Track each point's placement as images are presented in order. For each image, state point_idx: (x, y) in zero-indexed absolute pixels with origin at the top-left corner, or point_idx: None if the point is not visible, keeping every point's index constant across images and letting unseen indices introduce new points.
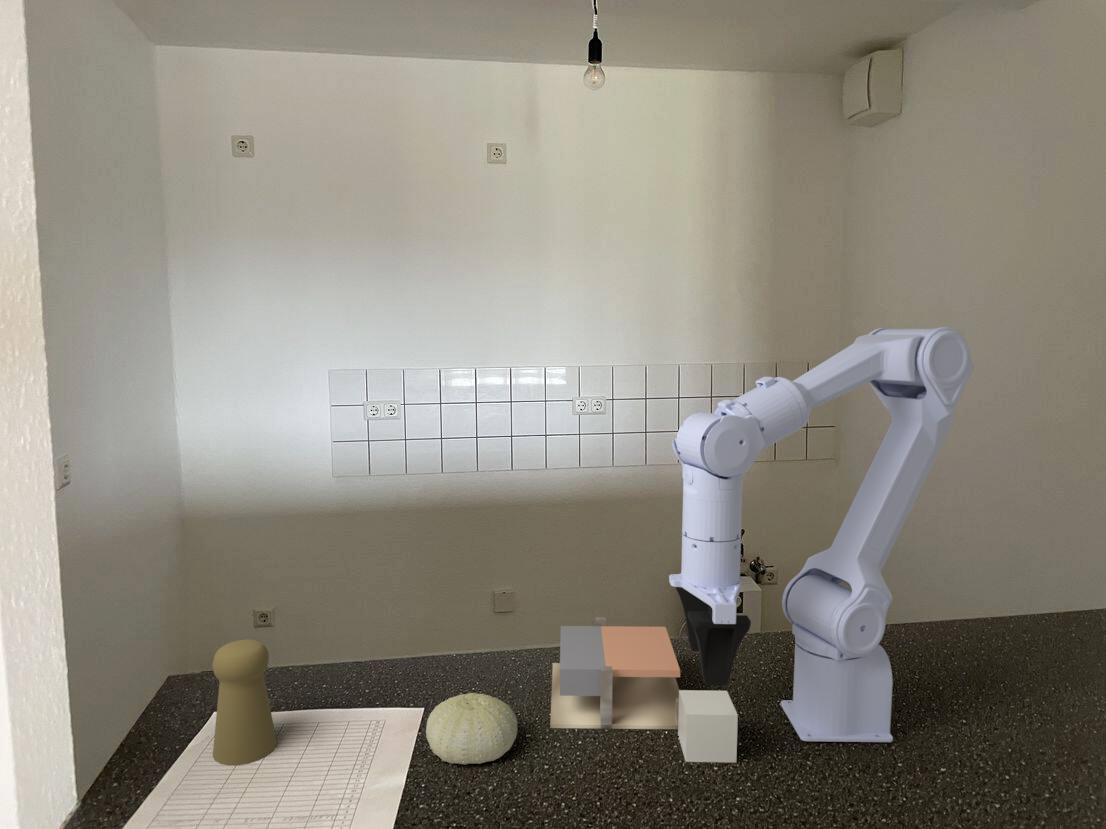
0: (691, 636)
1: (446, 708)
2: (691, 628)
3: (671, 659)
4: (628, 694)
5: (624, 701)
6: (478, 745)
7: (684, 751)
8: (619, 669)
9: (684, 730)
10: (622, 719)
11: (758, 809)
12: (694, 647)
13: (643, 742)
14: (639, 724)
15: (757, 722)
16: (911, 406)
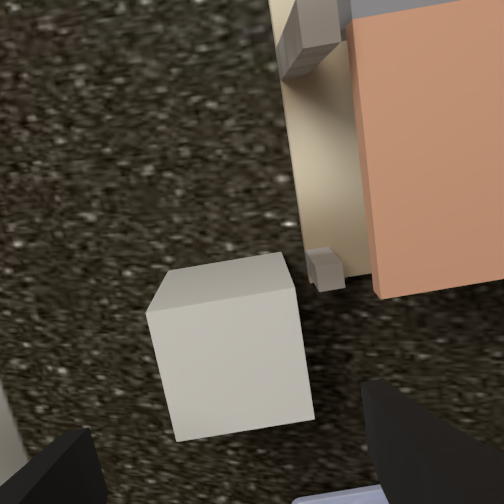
0: (380, 416)
1: None
2: (398, 440)
3: (465, 267)
4: None
5: None
6: None
7: (183, 272)
8: (359, 76)
9: (184, 286)
10: (314, 107)
11: (38, 404)
12: (366, 399)
13: (230, 170)
14: (296, 156)
15: (363, 421)
16: None
